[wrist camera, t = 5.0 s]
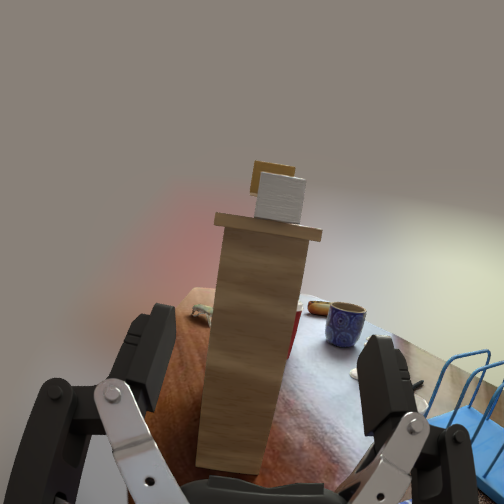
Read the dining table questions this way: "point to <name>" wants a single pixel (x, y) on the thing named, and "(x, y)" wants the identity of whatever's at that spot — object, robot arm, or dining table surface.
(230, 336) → the stand
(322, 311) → the hot dog
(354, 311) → the planter
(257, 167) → the mallet
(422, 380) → the pen
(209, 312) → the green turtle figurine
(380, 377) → the robot arm
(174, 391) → the dining table surface
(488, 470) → the file sorter
